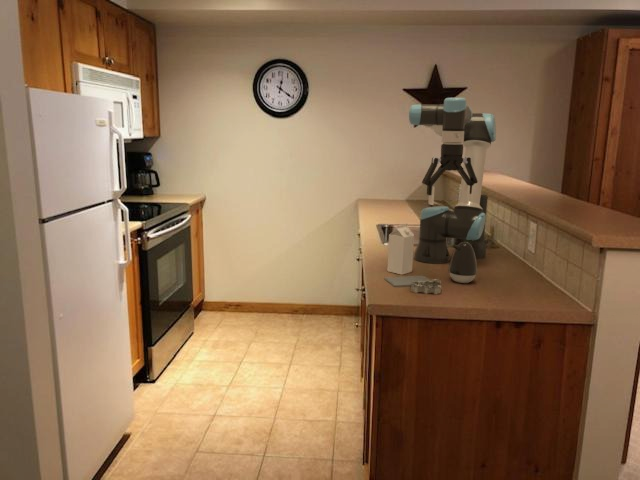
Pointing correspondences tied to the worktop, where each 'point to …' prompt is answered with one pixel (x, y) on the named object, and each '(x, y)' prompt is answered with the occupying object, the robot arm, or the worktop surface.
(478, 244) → the flashlight
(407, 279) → the mat
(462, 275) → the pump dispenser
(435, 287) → the egg carton
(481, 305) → the worktop surface
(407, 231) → the milk carton
